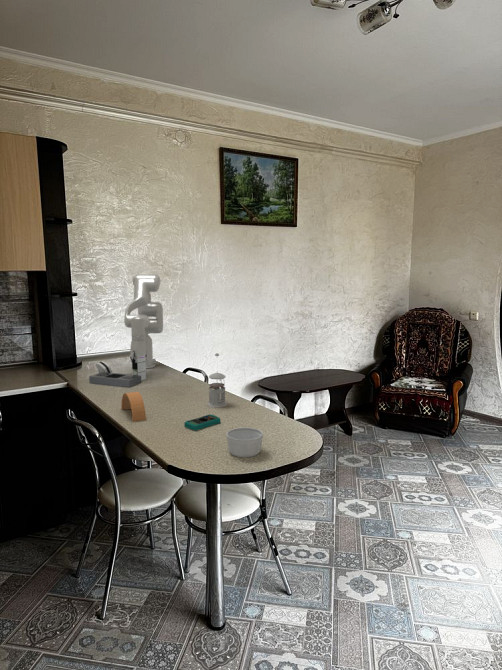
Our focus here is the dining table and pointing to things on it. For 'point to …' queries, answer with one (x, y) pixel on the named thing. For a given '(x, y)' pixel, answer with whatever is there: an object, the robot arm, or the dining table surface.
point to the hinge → (103, 367)
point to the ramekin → (244, 441)
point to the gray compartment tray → (115, 379)
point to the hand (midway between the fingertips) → (139, 367)
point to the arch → (134, 405)
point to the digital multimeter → (202, 422)
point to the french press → (217, 391)
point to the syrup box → (141, 367)
